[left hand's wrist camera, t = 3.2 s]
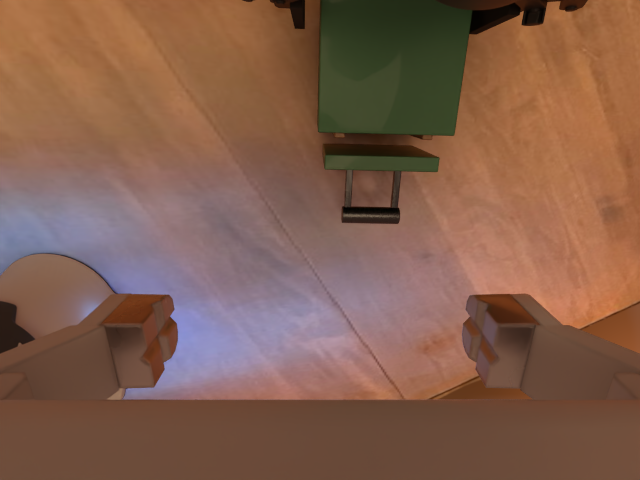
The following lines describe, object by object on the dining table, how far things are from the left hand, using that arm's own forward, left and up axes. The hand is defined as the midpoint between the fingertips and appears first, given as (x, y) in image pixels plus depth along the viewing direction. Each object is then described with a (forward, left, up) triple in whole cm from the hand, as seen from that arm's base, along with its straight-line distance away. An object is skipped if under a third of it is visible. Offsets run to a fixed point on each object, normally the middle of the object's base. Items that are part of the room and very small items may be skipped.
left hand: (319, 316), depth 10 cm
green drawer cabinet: (+11, -4, -32) cm, 34 cm away
